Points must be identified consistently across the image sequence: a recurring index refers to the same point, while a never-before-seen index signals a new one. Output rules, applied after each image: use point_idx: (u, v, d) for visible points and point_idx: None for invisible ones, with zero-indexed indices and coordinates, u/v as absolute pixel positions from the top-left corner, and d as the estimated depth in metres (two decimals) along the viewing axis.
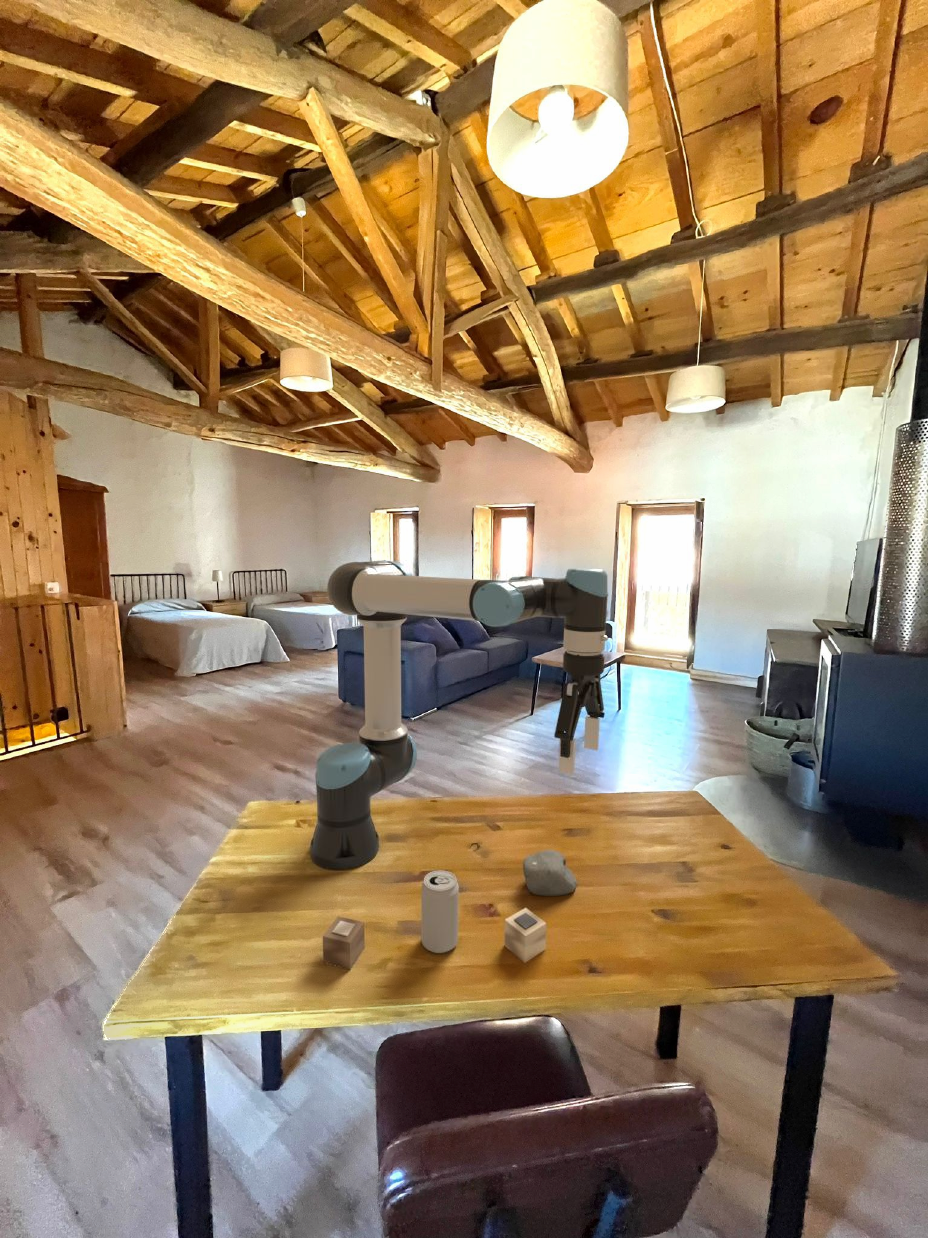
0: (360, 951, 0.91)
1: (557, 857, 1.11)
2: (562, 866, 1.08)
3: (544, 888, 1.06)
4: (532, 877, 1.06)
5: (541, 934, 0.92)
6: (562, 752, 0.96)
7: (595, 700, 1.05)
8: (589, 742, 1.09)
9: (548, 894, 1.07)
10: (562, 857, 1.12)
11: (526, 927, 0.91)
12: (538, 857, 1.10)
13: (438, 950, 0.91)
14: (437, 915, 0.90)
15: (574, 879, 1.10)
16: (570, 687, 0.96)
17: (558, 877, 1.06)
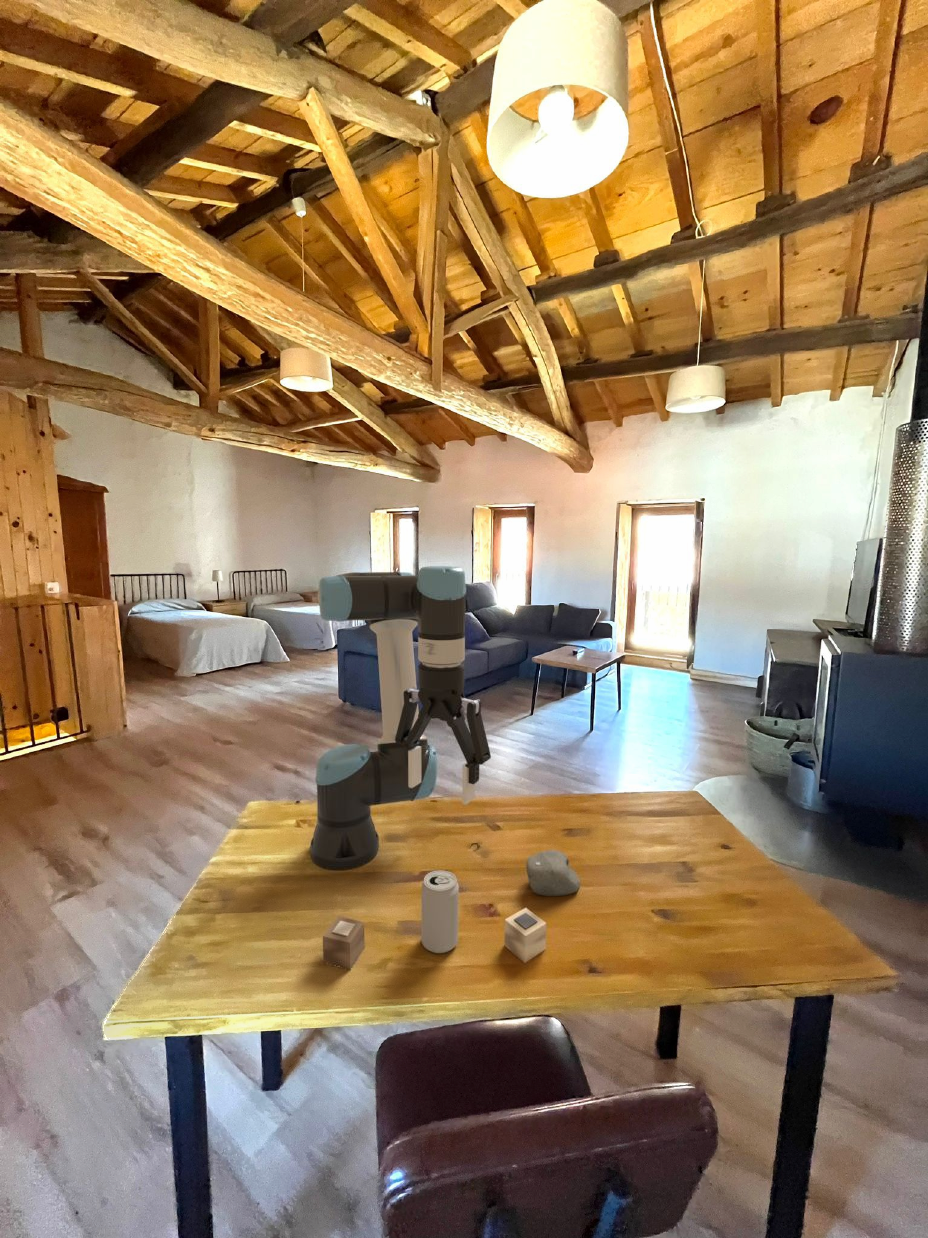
0: (360, 951, 0.91)
1: (560, 857, 1.11)
2: (565, 866, 1.08)
3: (548, 888, 1.06)
4: (536, 877, 1.06)
5: (541, 934, 0.92)
6: None
7: (456, 733, 0.86)
8: None
9: (552, 894, 1.07)
10: (565, 857, 1.12)
11: (526, 927, 0.91)
12: (542, 858, 1.10)
13: (438, 950, 0.91)
14: (438, 915, 0.90)
15: (577, 879, 1.10)
16: None
17: (562, 877, 1.06)
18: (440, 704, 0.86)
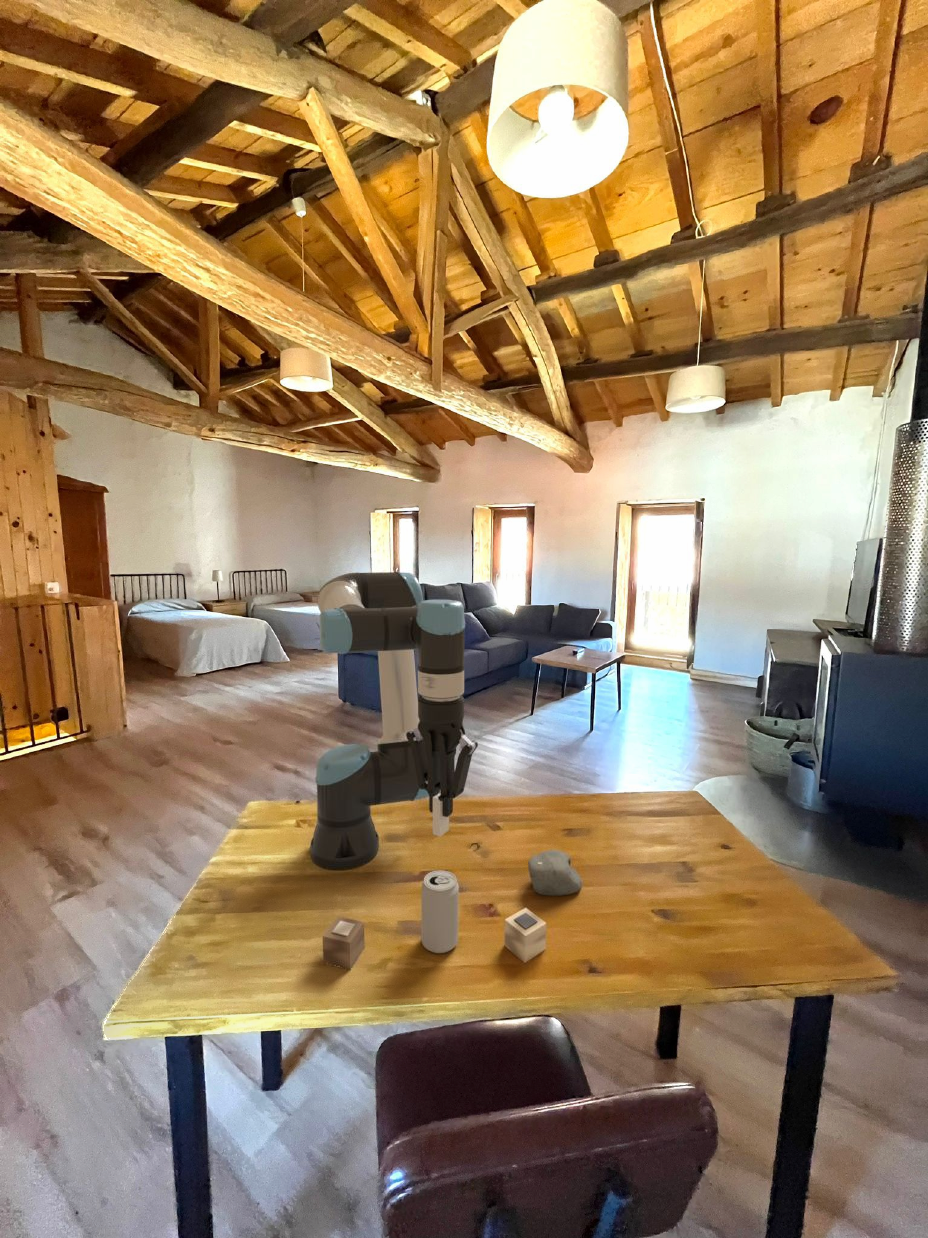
0: (360, 951, 0.91)
1: (562, 856, 1.11)
2: (567, 866, 1.09)
3: (550, 887, 1.06)
4: (538, 876, 1.06)
5: (541, 934, 0.92)
6: None
7: (442, 766, 0.88)
8: None
9: (554, 894, 1.07)
10: (567, 857, 1.12)
11: (526, 927, 0.91)
12: (544, 857, 1.10)
13: (438, 950, 0.91)
14: (438, 915, 0.90)
15: (579, 879, 1.10)
16: None
17: (564, 876, 1.06)
18: (440, 737, 0.86)
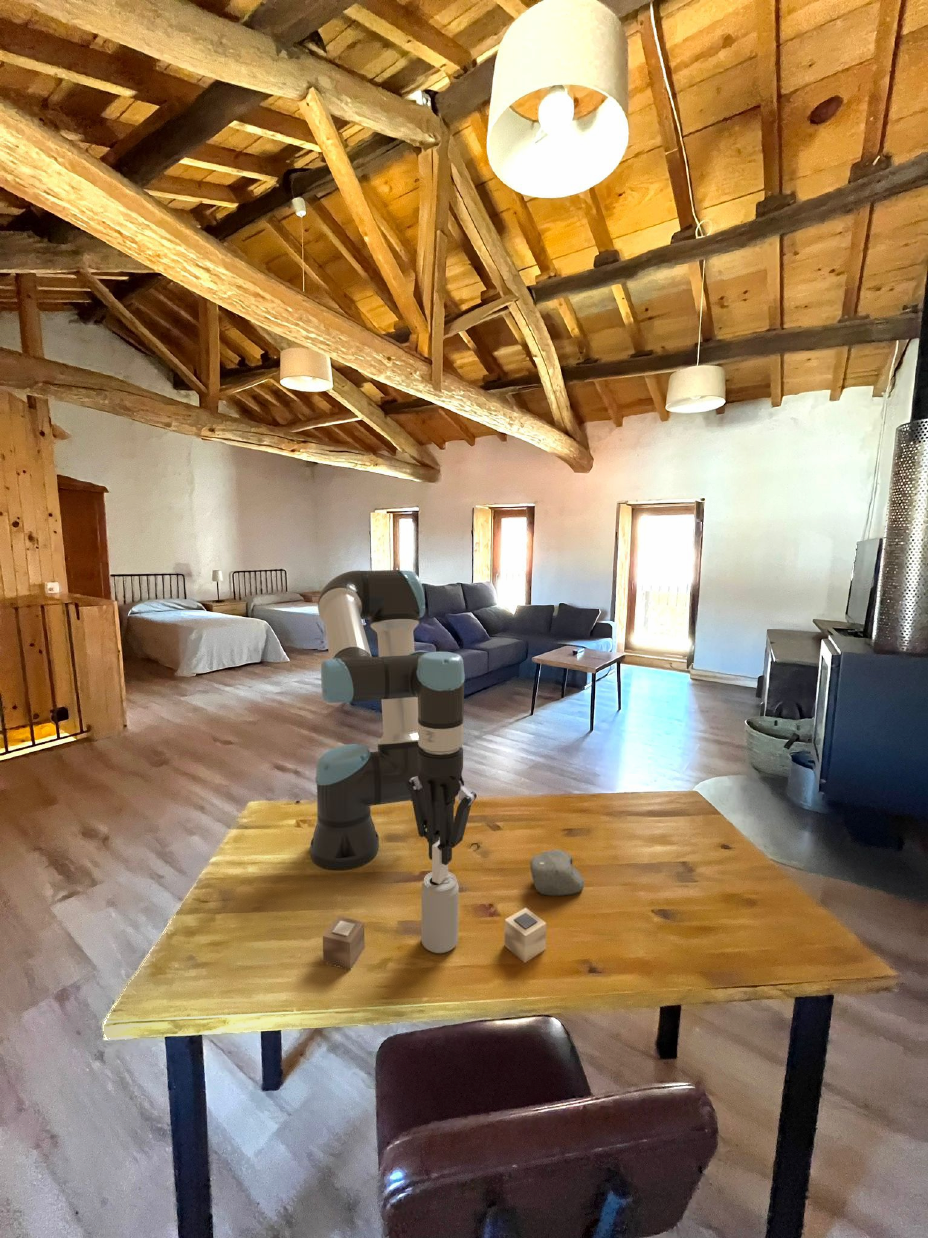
0: (360, 951, 0.91)
1: (564, 856, 1.11)
2: (569, 866, 1.09)
3: (552, 887, 1.06)
4: (540, 877, 1.06)
5: (541, 934, 0.92)
6: None
7: (442, 816, 0.89)
8: None
9: (556, 894, 1.07)
10: (569, 857, 1.12)
11: (526, 927, 0.91)
12: (546, 857, 1.10)
13: (438, 950, 0.91)
14: (438, 915, 0.90)
15: (581, 878, 1.10)
16: None
17: (566, 876, 1.06)
18: (440, 788, 0.88)
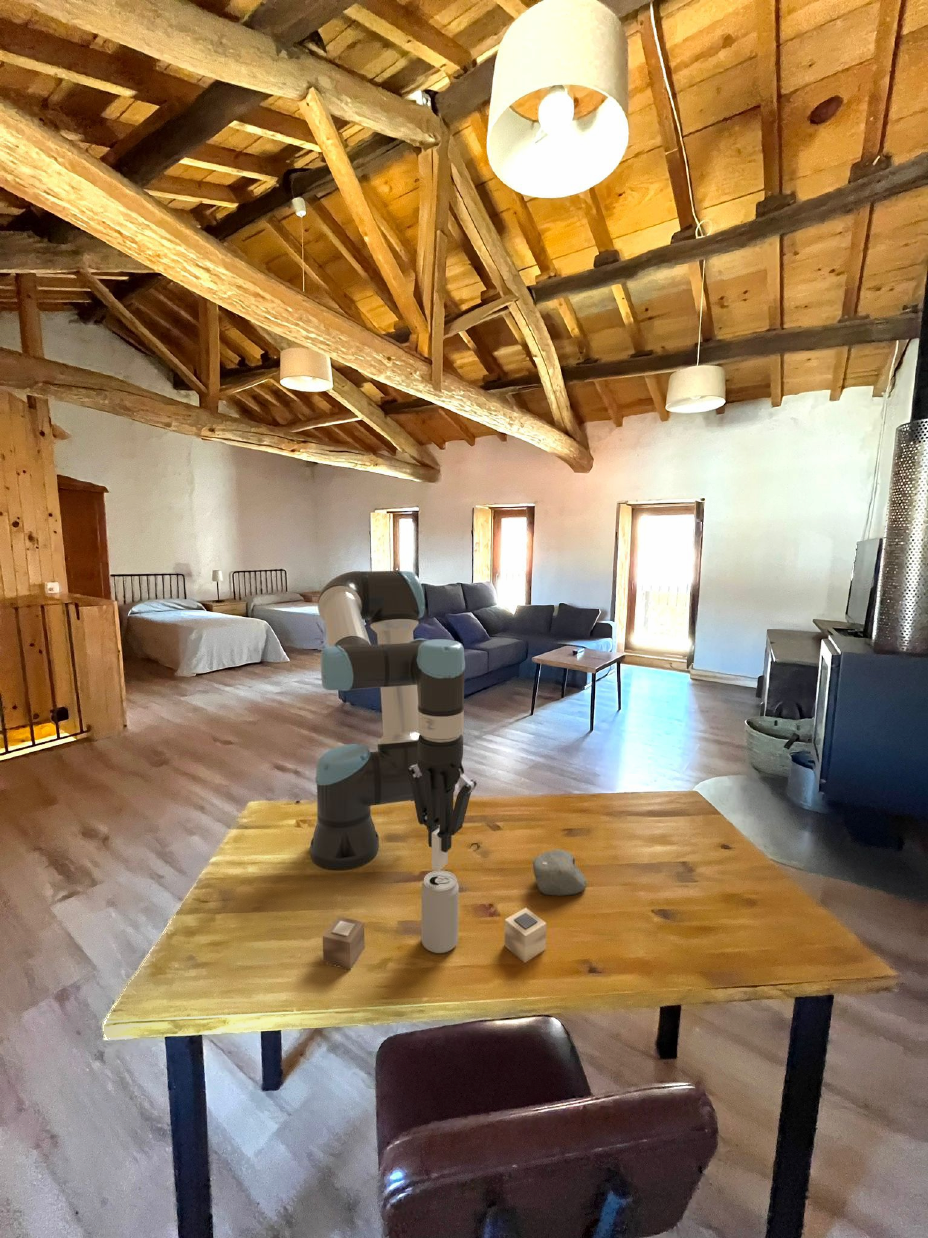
0: (360, 951, 0.91)
1: (566, 856, 1.11)
2: (572, 865, 1.09)
3: (555, 887, 1.06)
4: (543, 876, 1.06)
5: (541, 934, 0.92)
6: None
7: (442, 804, 0.89)
8: None
9: (559, 894, 1.07)
10: (571, 856, 1.12)
11: (526, 927, 0.91)
12: (548, 857, 1.10)
13: (438, 950, 0.91)
14: (438, 915, 0.90)
15: (584, 878, 1.10)
16: None
17: (569, 876, 1.06)
18: (439, 776, 0.88)
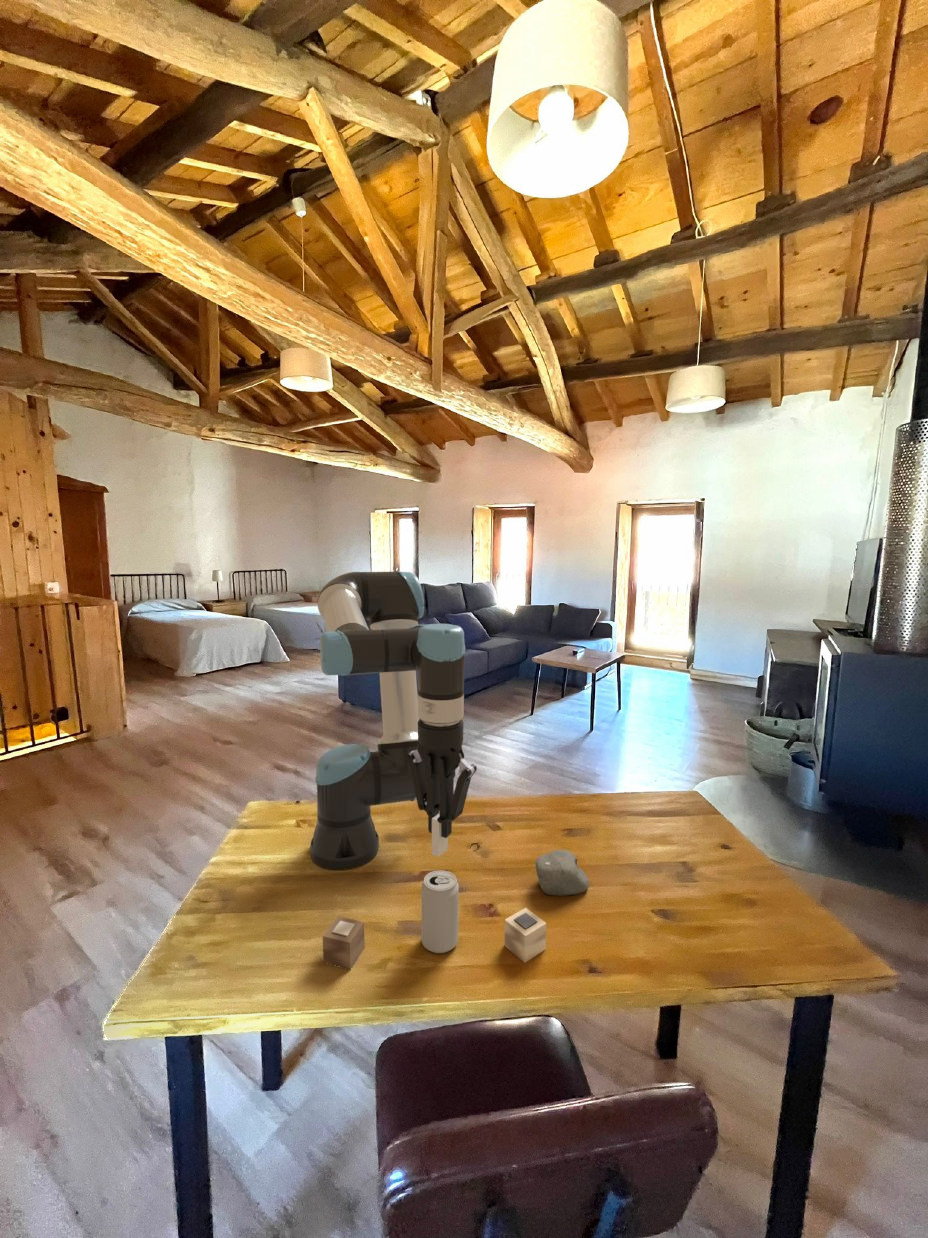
0: (360, 951, 0.91)
1: (569, 856, 1.11)
2: (575, 865, 1.09)
3: (558, 887, 1.06)
4: (546, 877, 1.06)
5: (541, 934, 0.92)
6: None
7: (442, 789, 0.89)
8: None
9: (562, 894, 1.07)
10: (574, 856, 1.12)
11: (526, 927, 0.91)
12: (551, 857, 1.10)
13: (438, 950, 0.91)
14: (438, 915, 0.90)
15: (586, 878, 1.10)
16: None
17: (572, 876, 1.06)
18: (439, 761, 0.87)
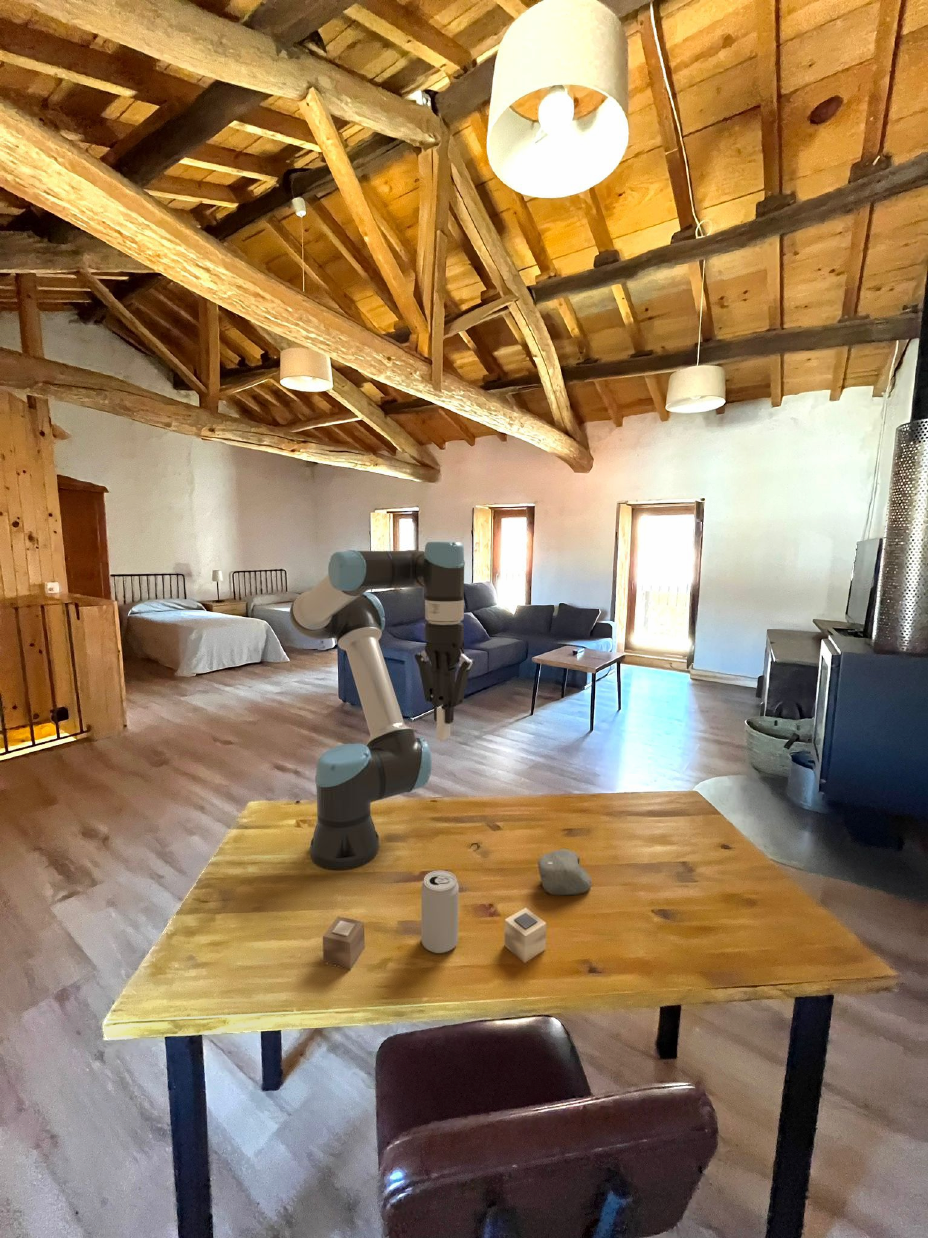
0: (360, 951, 0.91)
1: (571, 856, 1.11)
2: (577, 865, 1.09)
3: (561, 887, 1.06)
4: (549, 876, 1.06)
5: (541, 934, 0.92)
6: None
7: (445, 680, 1.05)
8: None
9: (564, 893, 1.07)
10: (576, 856, 1.12)
11: (526, 927, 0.91)
12: (553, 857, 1.10)
13: (438, 950, 0.91)
14: (438, 915, 0.90)
15: (588, 878, 1.10)
16: None
17: (574, 876, 1.06)
18: (443, 655, 1.04)
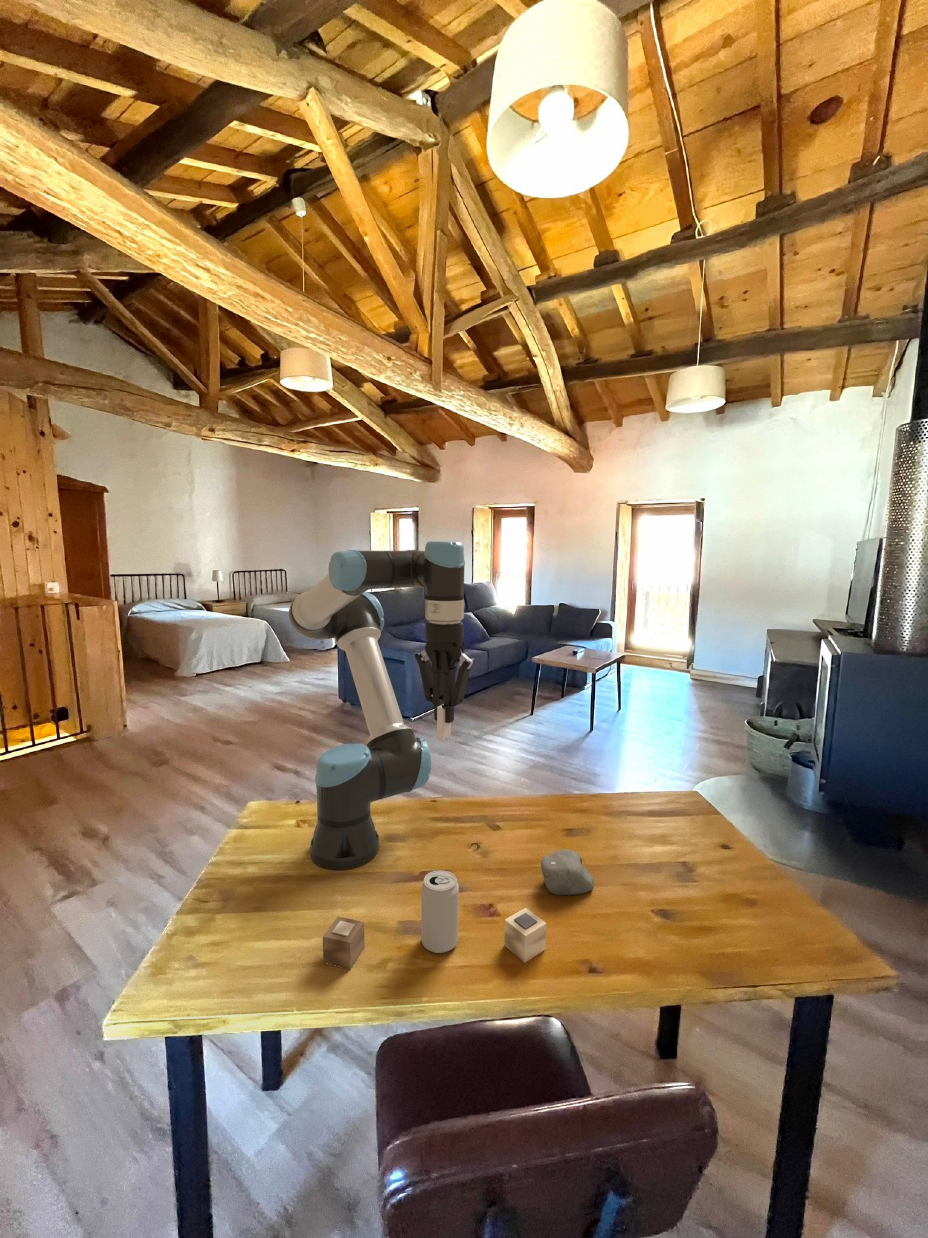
0: (360, 951, 0.91)
1: (574, 856, 1.11)
2: (580, 865, 1.09)
3: (564, 887, 1.06)
4: (552, 876, 1.06)
5: (541, 934, 0.92)
6: None
7: (445, 680, 1.05)
8: None
9: (567, 893, 1.07)
10: (579, 856, 1.12)
11: (526, 927, 0.91)
12: (556, 857, 1.10)
13: (438, 950, 0.91)
14: (438, 915, 0.90)
15: (591, 877, 1.11)
16: None
17: (577, 876, 1.06)
18: (443, 654, 1.04)
